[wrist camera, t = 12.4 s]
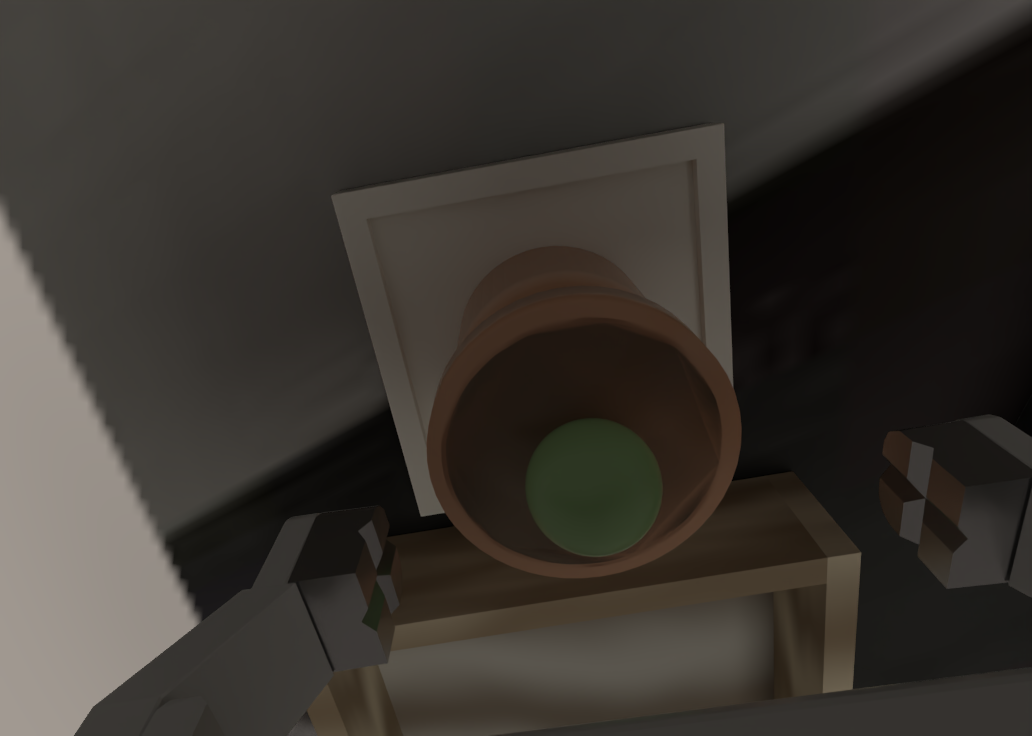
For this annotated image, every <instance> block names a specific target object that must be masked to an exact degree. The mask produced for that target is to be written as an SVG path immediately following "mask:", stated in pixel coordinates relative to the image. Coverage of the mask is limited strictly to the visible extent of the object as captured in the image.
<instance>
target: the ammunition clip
mask: <svg viewBox="0 0 1032 736" xmlns="http://www.w3.org/2000/svg"><path fill="white" fill-rule="evenodd" d="M1014 426H1015V427H1017V428H1018V429H1020V430H1021V431H1023V432H1024V433H1026V434H1027V435H1029V436H1030V437H1032V395H1031V397H1030V398H1029V400H1028V402H1027V404H1026V405H1025V407H1024V409H1023V411H1022V413H1021V414H1020V416H1019V418H1018V420H1017V421H1016V423H1015V425H1014Z"/></svg>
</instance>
